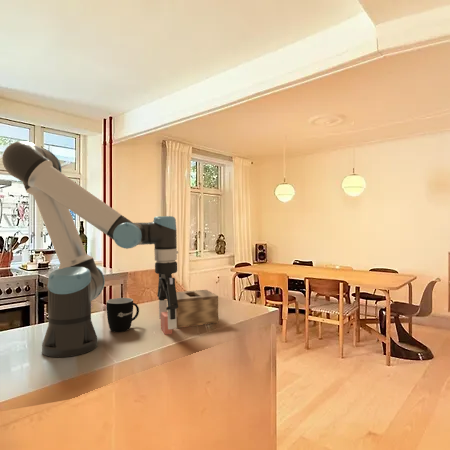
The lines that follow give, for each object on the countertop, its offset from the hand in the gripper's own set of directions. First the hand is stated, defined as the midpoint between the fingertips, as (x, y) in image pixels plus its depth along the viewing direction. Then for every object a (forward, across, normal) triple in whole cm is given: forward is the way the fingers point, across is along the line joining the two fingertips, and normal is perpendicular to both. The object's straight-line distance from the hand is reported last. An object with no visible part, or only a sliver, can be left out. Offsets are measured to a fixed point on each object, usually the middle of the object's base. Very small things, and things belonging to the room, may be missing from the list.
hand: (167, 323), depth 122 cm
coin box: (+3, +9, -12) cm, 15 cm away
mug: (+3, +9, +14) cm, 16 cm away
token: (+3, 0, 0) cm, 3 cm away
